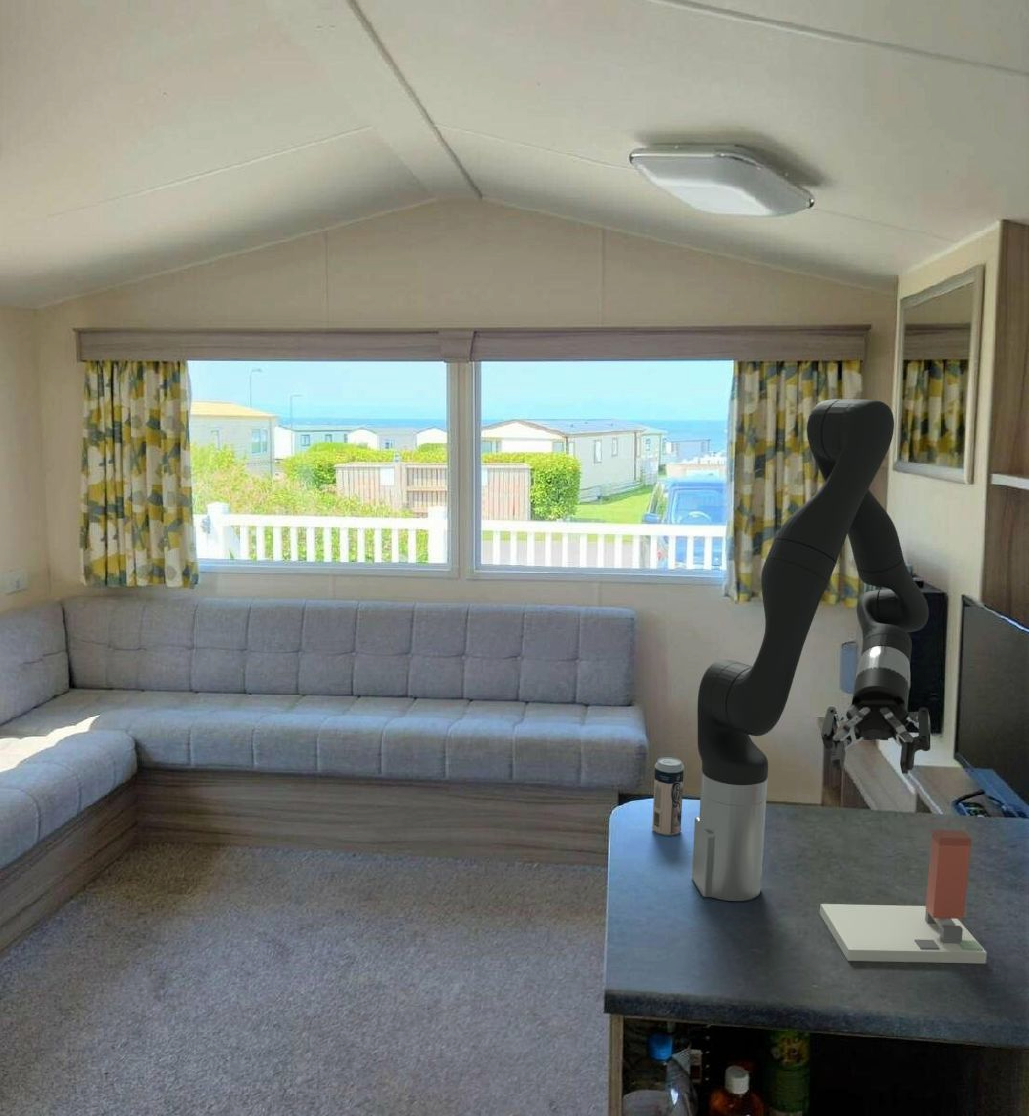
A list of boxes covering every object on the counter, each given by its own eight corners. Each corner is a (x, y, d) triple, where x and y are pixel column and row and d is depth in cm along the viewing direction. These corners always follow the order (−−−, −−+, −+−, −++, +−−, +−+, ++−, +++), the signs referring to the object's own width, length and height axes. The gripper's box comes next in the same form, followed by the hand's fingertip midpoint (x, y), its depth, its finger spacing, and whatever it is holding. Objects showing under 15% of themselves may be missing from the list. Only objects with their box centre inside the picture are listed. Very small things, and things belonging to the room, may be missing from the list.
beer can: (680, 838, 165) (684, 767, 163) (650, 835, 166) (653, 764, 164) (681, 827, 170) (685, 757, 168) (652, 824, 171) (655, 755, 169)
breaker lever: (932, 933, 132) (941, 839, 131) (923, 921, 136) (931, 828, 134) (963, 934, 132) (972, 839, 131) (953, 921, 136) (961, 829, 134)
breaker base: (847, 960, 129) (849, 934, 129) (819, 914, 141) (821, 890, 141) (985, 963, 129) (988, 937, 129) (946, 916, 141) (948, 892, 141)
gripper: (827, 666, 151) (812, 748, 140) (930, 664, 144) (922, 750, 133) (837, 702, 155) (822, 785, 144) (937, 702, 148) (930, 789, 137)
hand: (870, 768), depth 138 cm, fingers open, 8 cm apart
